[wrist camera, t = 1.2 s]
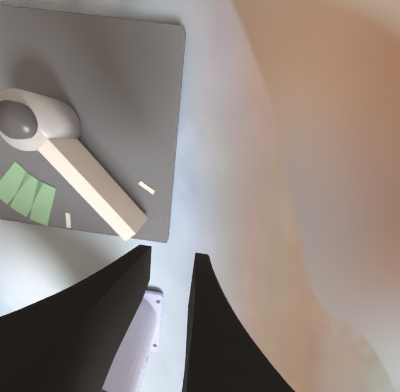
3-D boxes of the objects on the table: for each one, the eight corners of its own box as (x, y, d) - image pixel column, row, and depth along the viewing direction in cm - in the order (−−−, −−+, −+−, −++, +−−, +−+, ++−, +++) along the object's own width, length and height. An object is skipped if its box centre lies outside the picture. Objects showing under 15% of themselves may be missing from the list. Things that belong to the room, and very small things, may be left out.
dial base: (168, 238, 20) (166, 243, 19) (-32, 209, 20) (-45, 213, 19) (185, 33, 15) (183, 25, 14) (-84, 2, 15) (-107, -9, 14)
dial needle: (25, 120, 16) (-30, 114, 12) (54, 87, 15) (3, 70, 11) (129, 232, 18) (109, 254, 15) (159, 209, 17) (146, 227, 14)
